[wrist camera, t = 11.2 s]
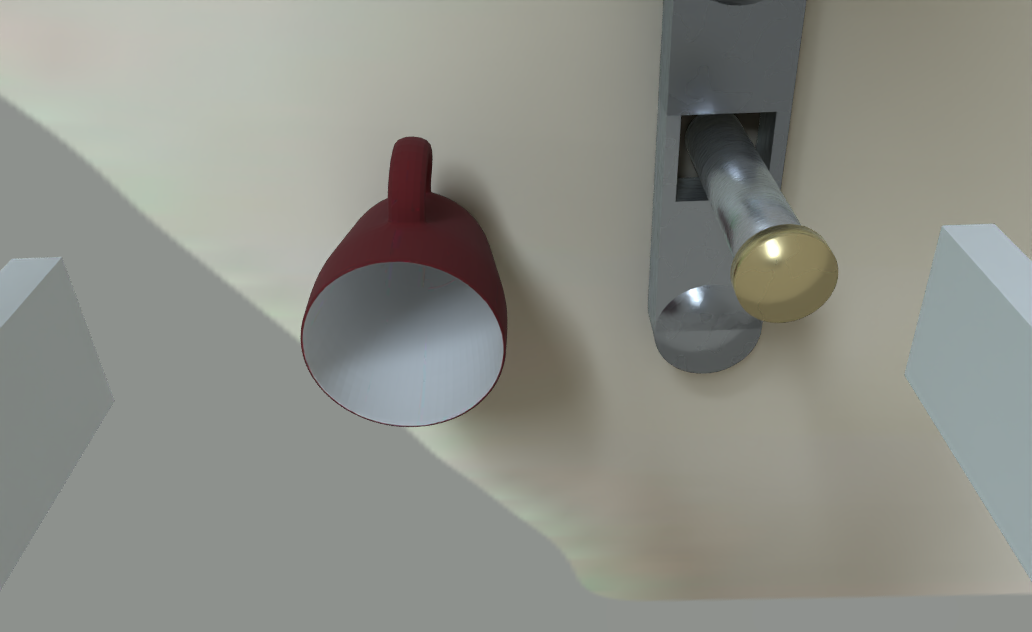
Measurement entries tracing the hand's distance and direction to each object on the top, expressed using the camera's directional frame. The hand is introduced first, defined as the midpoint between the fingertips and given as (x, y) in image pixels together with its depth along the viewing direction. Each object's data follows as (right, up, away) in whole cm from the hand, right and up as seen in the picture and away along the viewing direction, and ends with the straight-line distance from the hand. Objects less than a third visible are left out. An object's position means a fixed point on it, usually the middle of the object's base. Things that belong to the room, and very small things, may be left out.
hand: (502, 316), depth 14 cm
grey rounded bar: (+9, +8, +27) cm, 29 cm away
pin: (+9, +8, +27) cm, 29 cm away
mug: (-4, +5, +29) cm, 29 cm away
